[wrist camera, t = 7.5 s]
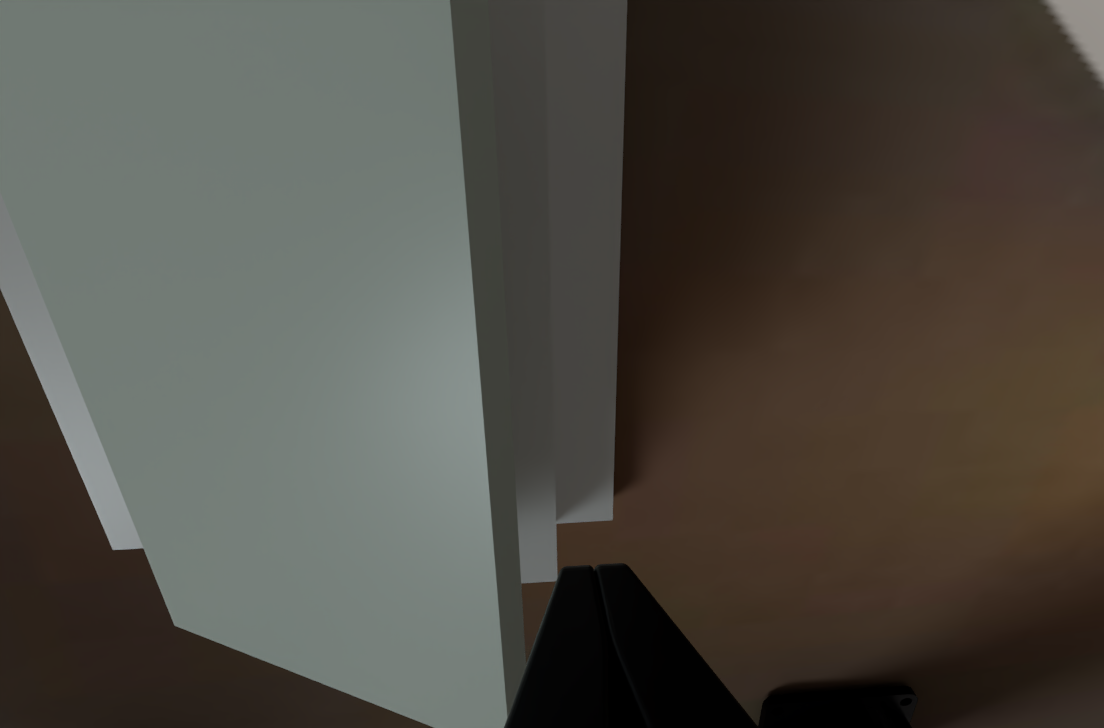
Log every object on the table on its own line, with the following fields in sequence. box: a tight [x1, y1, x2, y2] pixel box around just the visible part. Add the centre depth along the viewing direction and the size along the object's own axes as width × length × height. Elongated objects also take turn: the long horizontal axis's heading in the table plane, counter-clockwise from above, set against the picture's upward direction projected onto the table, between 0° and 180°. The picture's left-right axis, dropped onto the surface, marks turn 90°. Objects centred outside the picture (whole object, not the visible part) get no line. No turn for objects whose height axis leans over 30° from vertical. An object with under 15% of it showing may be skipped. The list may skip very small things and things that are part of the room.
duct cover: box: [0, 0, 526, 728], centre depth 13 cm, size 10×17×1 cm, turn 1°
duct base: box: [0, 0, 627, 583], centre depth 17 cm, size 16×18×4 cm
